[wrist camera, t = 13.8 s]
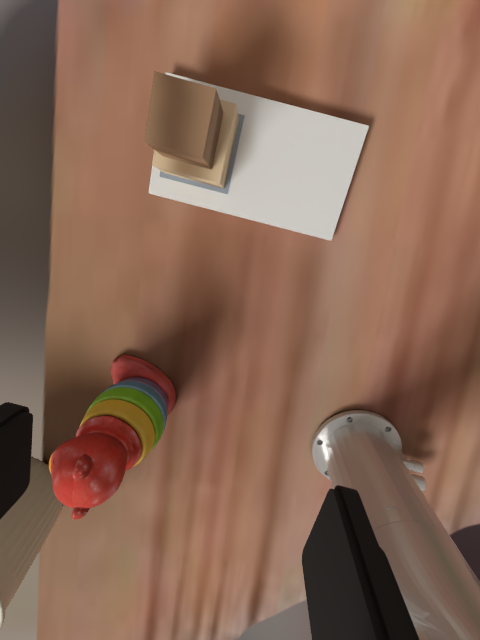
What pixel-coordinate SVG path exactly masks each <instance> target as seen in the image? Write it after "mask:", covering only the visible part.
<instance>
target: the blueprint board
mask: <svg viewBox="0 0 480 640" xmlns="http://www.w3.org/2000/svg"><path fill="white" fill-rule="evenodd" d="M166 75H170V76H173V77H177V78H181V79H184V80H188V81H191V82H195V83H199V84H202V85H206V86H210V87H213V88H216V89H217V93H218V96H219V99H220V100H224V101H228V102H232V103H236V105H237V111H238V117H239V122H238V126H237V131H236V136H235V141H234V145H233V150H232V155H231V159H230V164H229V169H228V173H227V178H226V183H225V187H224V188H220V187H216V186H212V185H208V184H204V183H201V182H197V181H193V180H189V179H185V178H181V177H178V176H174V175H170V174H166V173H164V172H162V171H160V170H159V169H157V168H156V167H154V166H152V173H151V179H150V186H149V193H150V194H153V195H157V196H161V197H164V198H168V199H172V200H176V201H180V202H184V203H187V204H191V205H195V206H199V207H203V208H207V209H211V210H214V211H218V212H222V213H226V214H230V215H234V216H238V217H241V218H245V219H249V220H253V221H257V222H261V223H265V224H268V225H272V226H276V227H280V228H284V229H288V230H291V231H295V232H299V233H303V234H307V235H311V236H315V237H318V238H322V239H326V240H332V237H333V234H334V231H335V228H336V225H337V222H338V219H339V216H340V213H341V210H342V207H343V204H344V201H345V198H346V195H347V192H348V189H349V186H350V183H351V179H352V176H353V173H354V170H355V167H356V164H357V161H358V158H359V155H360V152H361V149H362V146H363V143H364V140H365V137H366V134H367V131H368V128H369V126H368V125H364V124H360V123H356V122H353V121H349V120H345V119H341V118H337V117H334V116H330V115H326V114H322V113H319V112H315V111H311V110H307V109H303V108H300V107H296V106H292V105H288V104H284V103H281V102H277V101H273V100H269V99H266V98H262V97H258V96H254V95H250V94H247V93H243V92H239V91H235V90H231V89H228V88H224V87H220V86H216V85H212V84H209V83H205V82H201V81H197V80H194V79H190V78H186V77H182V76H178V75H175V74H171V73H167V72H166Z"/></svg>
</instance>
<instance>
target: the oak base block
mask: <svg viewBox="0 0 480 640" xmlns="http://www.w3.org/2000/svg"><path fill="white" fill-rule="evenodd" d="M220 103H221V106H222V110H223V113H224V114H223V118H222V123H221V128H220V133H219V138H218V142H217V147H216V152H215V157H214V162H213V167H212V170H211V169H207V168H204V167H200V166H196V165H192V164H189V163H185V162H181V161H178V160H174V159H170V158H167V157H163V156H162V155H161V154H159V153H158V152H157V151H156V150H154V156H153V163H152V165H153V166H154V167H156V168H157V169H159V170H160V171H162V172H164V173H166V174H170V175H174V176H178V177H181V178H185V179H189V180H193V181H197V182H201V183H204V184H208V185H212V186H216V187H220V188H224V187H225V183H226V178H227V173H228V169H229V164H230V159H231V155H232V150H233V145H234V141H235V136H236V131H237V126H238V122H239V117H238V111H237V105H236V103H232V102H228V101H224V100H220Z"/></svg>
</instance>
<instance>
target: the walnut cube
mask: <svg viewBox="0 0 480 640" xmlns="http://www.w3.org/2000/svg"><path fill="white" fill-rule="evenodd" d="M223 114H224V113H223V110H222V106H221V103H220V99H219V96H218V93H217V89H216V88H213V87H210V86H206V85H202V84H199V83H195V82H191V81H188V80H184V79H181V78H177V77H173V76H170V75H166V74H162V73H159V72H155V71H154V78H153V85H152V92H151V99H150V106H149V113H148V120H147V127H146V134H145V141H144V142H146V143H147V144H148V145H149V146H151V147H152V148H153V149H154V150H156V151H157V152H158V153H159V154H161V155H162V156H163V157H167V158H170V159H174V160H178V161H181V162H185V163H189V164H192V165H196V166H200V167H204V168H207V169H211V170H212V167H213V162H214V157H215V152H216V147H217V142H218V138H219V133H220V128H221V123H222V118H223Z"/></svg>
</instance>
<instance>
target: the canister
mask: <svg viewBox="0 0 480 640" xmlns="http://www.w3.org/2000/svg"><path fill="white" fill-rule="evenodd" d="M62 506H63V504H62V503H61V502H60V501H59V500H58V499H57V497H56V496H55V494H54V491H53V485H52V476H51V473H50V470H49V465H48V464H45V463H44V462H43V461H40V460H39V459H35V458H33V457H31V469H30V483H29V486H28V488H27V490H26V491H25V493H24V494H23V495H22V496H21V497H20V498H19V500H18V501H17V502H16V503H15V504H14V505H13V506H12V507H11V508H10V510H9V511H8V512H7V513H6V514H5V515H4V516H3V517H2V518H1V519H0V628H1V627H2V624H3V621H4V618H5V610H6V608H7V606H8V605H9V603H10V601H11V599H12V598H13V596H14V594H15V593H16V591H17V589H18V587H19V586H20V584H21V582H22V580H23V579H24V577H25V575H26V573H27V571H28V570H29V568H30V566H31V565H32V563H33V561H34V559H35V558H36V556H37V554H38V552H39V551H40V549H41V547H42V545H43V544H44V542H45V540H46V538H47V536H48V534H49V532H50V531H51V529H52V527H53V525H54V523H55V521H56V519H57V518H58V516H59V514H60V511H61V509H62Z"/></svg>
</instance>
